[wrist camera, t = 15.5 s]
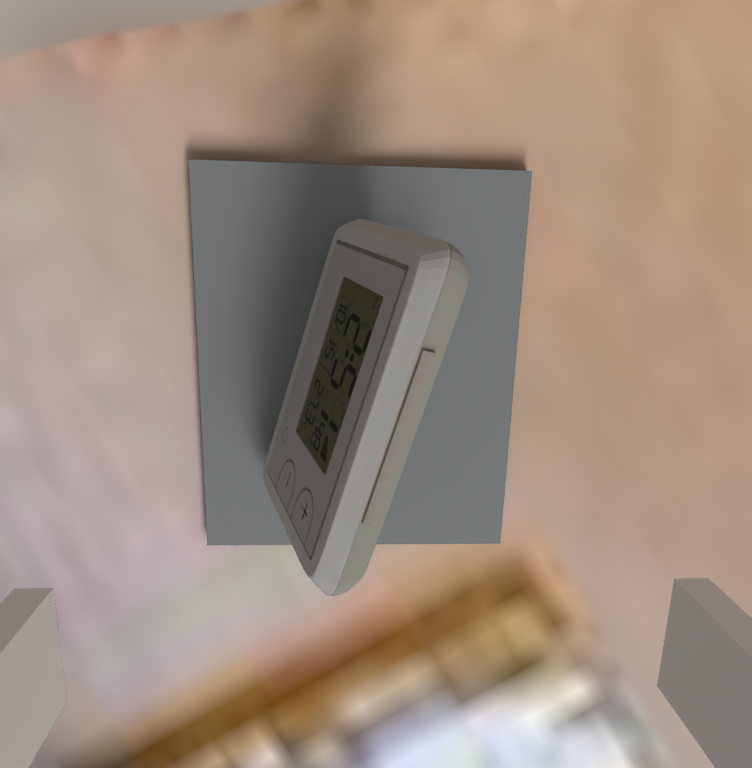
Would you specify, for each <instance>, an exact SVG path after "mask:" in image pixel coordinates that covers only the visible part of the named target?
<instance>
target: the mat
mask: <svg viewBox="0 0 752 768" xmlns="http://www.w3.org/2000/svg"><path fill="white" fill-rule="evenodd" d="M188 162H189V182H190V203H191V223H192V243H193V264H194V284H195V304H196V324H197V345H198V365H199V385H200V406H201V426H202V446H203V467H204V487H205V507H206V527H207V545H292V543H291V541H290V539H289V537H288V535H287V533H286V530H285V528H284V526H283V524H282V522H281V519H280V517H279V515H278V513H277V511H276V509H275V506H274V504H273V502H272V500H271V498H270V496H269V493H268V491H267V489H266V487H265V484H264V479H263V470H264V466H265V462H266V458H267V455H268V451H269V448H270V444H271V441H272V437H273V434H274V431H275V428H276V424H277V421H278V418H279V414H280V411H281V408H282V404H283V401H284V398H285V394H286V391H287V388H288V384H289V381H290V378H291V374H292V371H293V368H294V364H295V361H296V358H297V354H298V351H299V348H300V344H301V341H302V338H303V334H304V331H305V328H306V324H307V321H308V318H309V314H310V311H311V308H312V305H313V301H314V298H315V295H316V291H317V288H318V285H319V281H320V278H321V275H322V271H323V268H324V265H325V262H326V258H327V255H328V252H329V249H330V246H331V243H332V240H333V237H334V234H335V232H336V231H337V229H338V228H339V227H341V226H343V225H345V224H347V223H349V222H352V221H354V220H356V219H365V220H369V221H373V222H377V223H381V224H385V225H389V226H393V227H397V228H401V229H405V230H409V231H413V232H417V233H421V234H425V235H429V236H432V237H435V238H438V239H441V240H443V241H446V242H448V243H450V244H451V245H453V246H454V247H456V248H457V249H458V250H459V251H460V252H461V253H462V255H463V257H464V259H465V261H466V263H467V266H468V270H469V281H468V286H467V290H466V293H465V296H464V299H463V302H462V305H461V308H460V311H459V314H458V317H457V320H456V322H455V325H454V328H453V331H452V334H451V337H450V339H449V342H448V345H447V348H446V351H445V353H444V356H443V359H442V362H441V365H440V367H439V370H438V373H437V376H436V379H435V381H434V384H433V387H432V390H431V393H430V395H429V398H428V401H427V404H426V406H425V409H424V412H423V415H422V418H421V420H420V423H419V426H418V429H417V432H416V434H415V437H414V440H413V443H412V446H411V448H410V451H409V454H408V457H407V460H406V462H405V465H404V468H403V471H402V473H401V476H400V479H399V482H398V485H397V487H396V490H395V493H394V496H393V499H392V501H391V504H390V507H389V510H388V513H387V515H386V518H385V521H384V524H383V526H382V529H381V532H380V535H379V537H378V540H377V543H376V544H494V543H500V539H501V527H502V516H503V504H504V492H505V481H506V469H507V457H508V446H509V434H510V422H511V410H512V399H513V387H514V375H515V364H516V352H517V340H518V329H519V317H520V305H521V294H522V282H523V270H524V259H525V247H526V235H527V224H528V212H529V200H530V189H531V177H532V171H519V170H489V169H460V168H430V167H400V166H370V165H341V164H311V163H281V162H252V161H222V160H192V159H188Z"/></svg>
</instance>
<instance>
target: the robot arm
mask: <svg viewBox="0 0 752 768" xmlns="http://www.w3.org/2000/svg"><path fill="white" fill-rule="evenodd" d="M657 686H658V688H659V689H660V690H661V692H662V693H663V695H664V696H665V698H666V699H667V700H668V702H669V703H670V705H671V706H672V707H673V709H674V710H675V712H676V713H677V714H678V716H679V717H680V719H681V720H682V721H683V723H684V724H685V726H686V727H687V728H688V730H689V731H690V733H691V734H692V735H693V737H694V738H695V740H696V741H697V742H698V744H699V745H700V747H701V748H702V749H703V751H704V752H705V754H706V755H707V757H708V758H709V759H710V761H711V762H712V764H713V765H714V766H715V768H752V618H751V617H750V616H749V615H747V614H746V613H745V612H744V611H743V610H742V609H741V608H740V607H739V606H738V605H737V604H736V603H734V602H733V601H732V600H731V599H730V598H729V597H728V596H727V595H726V594H725V593H724V592H723V591H721V590H720V589H719V588H718V587H717V586H716V585H715V584H714V583H713V582H712V581H711V580H709V579H708V578H686V579H674V584H673V590H672V596H671V603H670V609H669V615H668V621H667V628H666V634H665V640H664V646H663V652H662V659H661V665H660V671H659V677H658V683H657ZM66 703H67V698H66V690H65V681H64V673H63V665H62V657H61V648H60V640H59V632H58V624H57V616H56V607H55V599H54V591H53V588H36V589H14V590H13V591H12V592H11V593H10V594H9V595H8V596H7V597H6V598H5V599H4V600H3V601H2V603H1V604H0V768H29V767H30V765H31V763H32V761H33V760H34V758H35V756H36V755H37V753H38V751H39V749H40V748H41V746H42V744H43V743H44V741H45V739H46V737H47V736H48V734H49V732H50V731H51V729H52V727H53V725H54V724H55V722H56V720H57V719H58V717H59V715H60V713H61V712H62V710H63V708H64V706H65V705H66Z"/></svg>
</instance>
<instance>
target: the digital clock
mask: <svg viewBox="0 0 752 768" xmlns="http://www.w3.org/2000/svg"><path fill="white" fill-rule="evenodd" d="M468 281H469V270H468V266H467V263H466V261H465V259H464V257H463V255H462V253H461V252H460V251H459V250H458V249H457V248H456V247H454V246H453V245H451V244H450V243H448V242H446V241H443V240H441V239H438V238H435V237H432V236H429V235H425V234H421V233H417V232H413V231H409V230H405V229H401V228H397V227H393V226H389V225H385V224H381V223H377V222H373V221H369V220H365V219H356V220H354V221H352V222H349V223H347V224H345V225H343V226H341V227H339V228H338V229H337V231H336V232H335V234H334V237H333V240H332V243H331V246H330V249H329V252H328V255H327V258H326V262H325V265H324V268H323V271H322V275H321V278H320V281H319V285H318V288H317V291H316V295H315V298H314V301H313V305H312V308H311V311H310V314H309V318H308V321H307V324H306V328H305V331H304V334H303V338H302V341H301V344H300V348H299V351H298V354H297V358H296V361H295V364H294V368H293V371H292V374H291V378H290V381H289V384H288V388H287V391H286V394H285V398H284V401H283V404H282V408H281V411H280V414H279V418H278V421H277V424H276V428H275V431H274V434H273V437H272V441H271V444H270V448H269V451H268V455H267V458H266V462H265V466H264V470H263V479H264V484H265V487H266V489H267V491H268V493H269V496H270V498H271V500H272V502H273V504H274V506H275V509H276V511H277V513H278V515H279V517H280V519H281V522H282V524H283V526H284V528H285V530H286V533H287V535H288V537H289V539H290V541H291V543H292V546H293V548H294V550H295V552H296V554H297V556H298V559H299V561H300V563H301V565H302V567H303V569H304V571H305V572H306V574H307V575H308V577H309V578H310V579H311V580H312V581H313V582H314V583H315V585H316V586H317V587H318V588H319V589H320V590H321V591H322V592H323V593H324V594H325V595H327V596H337V595H341V594H343V593H346V592H347V591H348V590H350V589H351V588H352V587H353V586H355V585H356V584H357V583H358V582H359V581H360V579H361V578H362V577H363V575H364V573H365V571H366V569H367V567H368V564H369V561H370V559H371V556H372V553H373V551H374V548H375V545H376V543H377V540H378V537H379V535H380V532H381V529H382V526H383V524H384V521H385V518H386V515H387V513H388V510H389V507H390V504H391V501H392V499H393V496H394V493H395V490H396V487H397V485H398V482H399V479H400V476H401V473H402V471H403V468H404V465H405V462H406V460H407V457H408V454H409V451H410V448H411V446H412V443H413V440H414V437H415V434H416V432H417V429H418V426H419V423H420V420H421V418H422V415H423V412H424V409H425V406H426V404H427V401H428V398H429V395H430V393H431V390H432V387H433V384H434V381H435V379H436V376H437V373H438V370H439V367H440V365H441V362H442V359H443V356H444V353H445V351H446V348H447V345H448V342H449V339H450V337H451V334H452V331H453V328H454V325H455V322H456V320H457V317H458V314H459V311H460V308H461V305H462V302H463V299H464V296H465V293H466V290H467V286H468Z"/></svg>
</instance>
